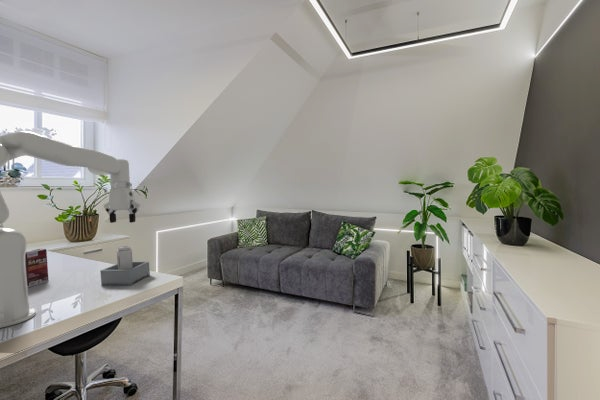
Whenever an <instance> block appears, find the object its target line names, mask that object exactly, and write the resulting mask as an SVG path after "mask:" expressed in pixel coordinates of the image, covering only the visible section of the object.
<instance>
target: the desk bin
mask: <svg viewBox="0 0 600 400" xmlns="http://www.w3.org/2000/svg"><path fill="white" fill-rule="evenodd" d="M132 262H133V268H132V269H130V270H118V263H116V264H113V265H111V266H109V267H106V268H104V269H100V283H101V284H100V285H101V286H106V287H107V286H108V287H110V286H115V287H117V286H118V287H120V286H121V287H122V286H123V287H128V286H129V287H131V286H133V285H135V284H136V283H139V282H140V281H141V280H143V279H146V278H148V277H149V276H150V274H151V272H150V271H151V270H150V261H132Z"/></svg>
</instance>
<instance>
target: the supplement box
mask: <svg viewBox="0 0 600 400" xmlns="http://www.w3.org/2000/svg"><path fill="white" fill-rule="evenodd" d="M47 254H48V253H47V248H38V249H37V248H36V249H31V250H28V251H27V250H26V254H25V267H26V277H27V288H31V287H34V286H37V285H40V284H44V283H47V282H49V269H48V268H49V267H48V256H47Z"/></svg>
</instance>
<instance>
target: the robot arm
mask: <svg viewBox="0 0 600 400" xmlns="http://www.w3.org/2000/svg"><path fill="white" fill-rule="evenodd" d="M24 156H27V157H31V158H34V159H35V158H36V159H39V160H44V161H46V162H49V163H54V164H57V165H61V166H66V167H77V168H78V167H80V168H87V169H88V171H89V172H90V173H91V174H92V175H96V176H105V175H110V189H109V194H108V202H107V203H105V204H103V207H104V210H105V211H106V212H107V215H109V223H111V224H112V223H116V222H117V213H116V212H117V211H127V212H128V213H129V215H128V217H129V218H128V219H129V221H128V222H129V223H135V222H136V214H137V213H138V211H139V209H140V206H141V204H140V203H138V202H137V201H135V200H136V199H135V195H134V191H133V188H131V187H132V186H133V183H131V180H130V164H129V163H130V162H129V161H128V160H127V159H123V158H122V159H119V158H118V159H117V158H116V157H114V156H112V155H109V154H106V153H104V152H100V151H96V150H93V149H89V148H84V147H80V146H76V145H71V144H68V143H65V142H61V141H59V140H56V139H53V138H50V137H48V136H45V135H41V134H38V133H35V132H32V131H27V130H22V131H21V130H20V131H16V132H11V133H10V132H9V133H7V134H3V135H0V169H1V168H2V167H3V166H5V165H6V164H7V163H8V162H9V161H11V160H14V159H18V158H20V157H24ZM9 217H10V210H9V208H8V206H7V203H6V202H5V199H4V197H3V195H2V192H1V191H0V329H2V328H7V327H10V326H14V325H17V324H21V323H23V322H25V321H27V320H30V319H31V318H33V317H34V316H35V315H36V314H37V313H36V311H37V310H36V309H34V308H30V303H29V290H28V287H27V277H26V267H25V254H26V251H27V239H26V237H25V236H24V234H22V232H20V231H18V230H16V229H14V228H6V227H4V225H3V224H4V223H5V222H7V221H8V219H9Z"/></svg>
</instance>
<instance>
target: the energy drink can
mask: <svg viewBox="0 0 600 400" xmlns="http://www.w3.org/2000/svg"><path fill="white" fill-rule="evenodd" d="M116 257H117V258H116V260H117V261H116V262H117V264H118V270H130V269H132V268H133V262H134V261H133V250H132V248H131V246H130V245H123V246H118V247H117V250H116Z"/></svg>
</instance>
